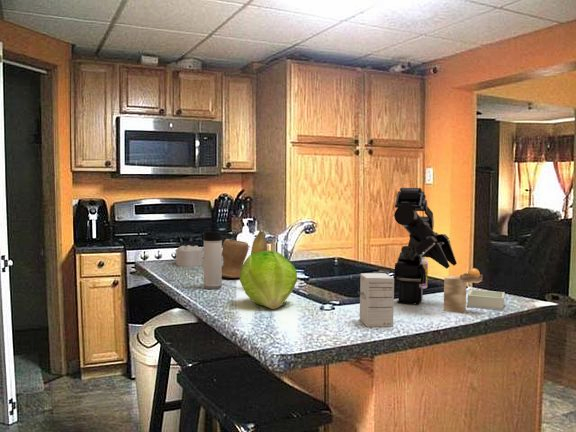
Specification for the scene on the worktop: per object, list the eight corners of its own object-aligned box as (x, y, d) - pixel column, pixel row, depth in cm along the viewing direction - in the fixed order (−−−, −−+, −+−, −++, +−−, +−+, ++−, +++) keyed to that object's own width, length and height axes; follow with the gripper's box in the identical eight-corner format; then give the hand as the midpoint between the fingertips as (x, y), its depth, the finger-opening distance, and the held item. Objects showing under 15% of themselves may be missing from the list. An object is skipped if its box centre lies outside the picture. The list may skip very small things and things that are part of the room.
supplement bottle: (427, 289, 184) (428, 253, 184) (408, 289, 186) (409, 252, 185) (426, 286, 191) (427, 251, 190) (407, 285, 192) (408, 250, 192)
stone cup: (254, 277, 206) (254, 239, 206) (230, 281, 198) (230, 241, 197) (230, 273, 217) (230, 236, 216) (206, 276, 209) (206, 238, 208)
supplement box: (358, 319, 141) (359, 272, 140) (386, 319, 141) (387, 272, 141) (365, 327, 133) (366, 277, 133) (393, 326, 134) (394, 277, 133)
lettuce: (233, 315, 150) (256, 276, 143) (230, 270, 167) (251, 232, 160) (286, 329, 157) (311, 293, 149) (278, 284, 173) (300, 249, 166)
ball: (465, 277, 150) (470, 267, 149) (466, 274, 152) (471, 265, 152) (476, 282, 149) (481, 273, 148) (477, 280, 151) (482, 270, 151)
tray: (467, 306, 158) (467, 295, 158) (470, 300, 167) (470, 289, 167) (503, 310, 154) (503, 298, 154) (504, 303, 163) (504, 292, 163)
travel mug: (199, 288, 182) (199, 231, 181) (209, 285, 188) (209, 229, 187) (215, 290, 180) (215, 231, 179) (224, 287, 186) (225, 230, 185)
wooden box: (443, 310, 153) (444, 273, 152) (448, 307, 157) (449, 271, 156) (476, 315, 148) (478, 277, 147) (481, 311, 152) (482, 274, 151)
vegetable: (257, 291, 179) (257, 232, 178) (246, 288, 184) (246, 231, 183) (270, 288, 183) (271, 231, 182) (259, 286, 188) (259, 230, 187)
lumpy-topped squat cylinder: (183, 267, 232) (183, 247, 231) (171, 263, 242) (171, 245, 242) (205, 265, 238) (205, 246, 238) (192, 262, 248) (192, 243, 248)
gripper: (406, 242, 170) (439, 279, 165) (386, 245, 154) (422, 287, 148) (431, 218, 166) (466, 256, 160) (414, 219, 149) (452, 262, 144)
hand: (451, 266), depth 153 cm, fingers open, 9 cm apart
